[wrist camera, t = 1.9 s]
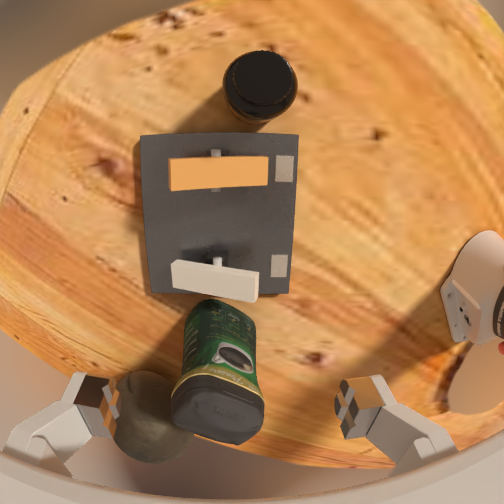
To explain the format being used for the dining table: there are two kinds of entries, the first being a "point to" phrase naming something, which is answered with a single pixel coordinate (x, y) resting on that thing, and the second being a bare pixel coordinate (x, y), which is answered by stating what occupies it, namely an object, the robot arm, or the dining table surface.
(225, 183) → the paddle
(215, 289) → the paddle
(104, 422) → the robot arm
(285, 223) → the panel
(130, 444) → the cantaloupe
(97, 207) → the dining table surface
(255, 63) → the supplement bottle
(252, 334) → the coffee jar
